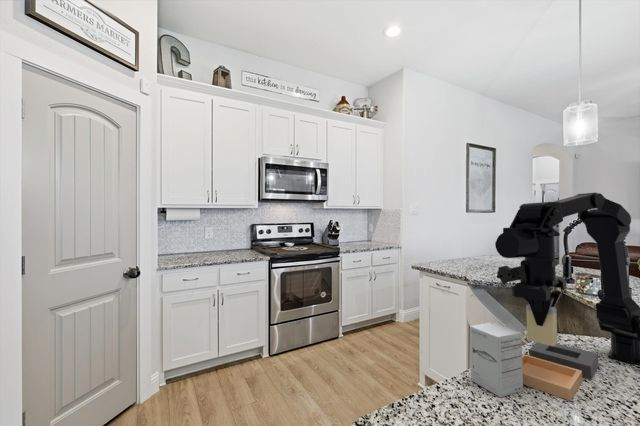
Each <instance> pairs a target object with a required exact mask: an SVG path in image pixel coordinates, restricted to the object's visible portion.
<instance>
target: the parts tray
mask: <svg viewBox="0 0 640 426" xmlns="http://www.w3.org/2000/svg"><path fill="white" fill-rule="evenodd" d="M522 372H523V386H524V385H525V386H527V387H530V388H533V389H536V390H538V391H541V392H543V393H547V394H549V395H552V396H555V397H558V398H561V399H564V400H567V401H570V402H571V401H572V400H573V398H574V396H575V394H576V393H577V391H578V389H579V388H580V386H581V384H582V383H583V377H582V371H581V370H578V369H574V368H571V367H567V366H564V365H560V364H557V363H553V362H550V361H546V360H543V359H539V358H536V357H532V356H529V354H525V353H522Z"/></svg>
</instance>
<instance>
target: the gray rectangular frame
mask: <svg viewBox="0 0 640 426" xmlns="http://www.w3.org/2000/svg"><path fill="white" fill-rule="evenodd" d="M528 355H529V356H532V357H536V358H539V359H543V360H546V361H550V362H553V363H557V364H560V365H564V366H567V367H571V368H574V369H578V370H581V371H582V378H585V379H588V380H591V381H592V379H593V378H594V376H595V374H596V372H597V371H598V369H599V366H600V365H599V362H600V361H599V353H596V352H592V351H588V350H585V349H584V350H583V349H579V348H575V347H571V346H568V345H563V344H560V343H557V344H556V345H555V346H550V345H546V344H542V343H538V342H535V343H534V345H532V346H531V347H530V348H529V349H528Z"/></svg>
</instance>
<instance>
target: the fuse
mask: <svg viewBox="0 0 640 426" xmlns="http://www.w3.org/2000/svg"><path fill="white" fill-rule="evenodd" d="M525 308H526V309H525V311H526V336H527V337H526V338H527V341H531V342H534V343H537V342H538V343H542V344H546V345H550V346H555V345H556V344H559V343H558V324H557V323H558V318H557V307H556V306H555V307H551V308H550V310H549V312H548V315H547V317H546V320H545V322H544V324H543V326H539V325H537V324H536V321H535V318H534V316H533V313H532V310H531V307H530V305H529V303H528V304H526V305H525Z"/></svg>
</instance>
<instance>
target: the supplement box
mask: <svg viewBox="0 0 640 426" xmlns="http://www.w3.org/2000/svg"><path fill="white" fill-rule="evenodd" d="M469 327H470V328H469V329H470V368H471V369H470V372H471V373H470V374H471V375H470V378H471V379H470V381H472V382H474V383H475V384H477V385H479V386H480V387H483V388H484V389H486V391H488V392H491V393H492V394H494V395H496V396H497V397H498V398H504V397H507V396H511V395H513V394H517V393H520V392H523V390H524V388H523V386H524V384H523V372H522V354H523V343H522V341H523V338H522V337H523V333H522V332H521V331H519V330H518V331H517V330H514V329H511V328H509V327H506V326H504V325H500V324H498V323H495V322H493V321H492V322H491V321H490V322H484V323H478V324H474V325H470V326H469Z"/></svg>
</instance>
